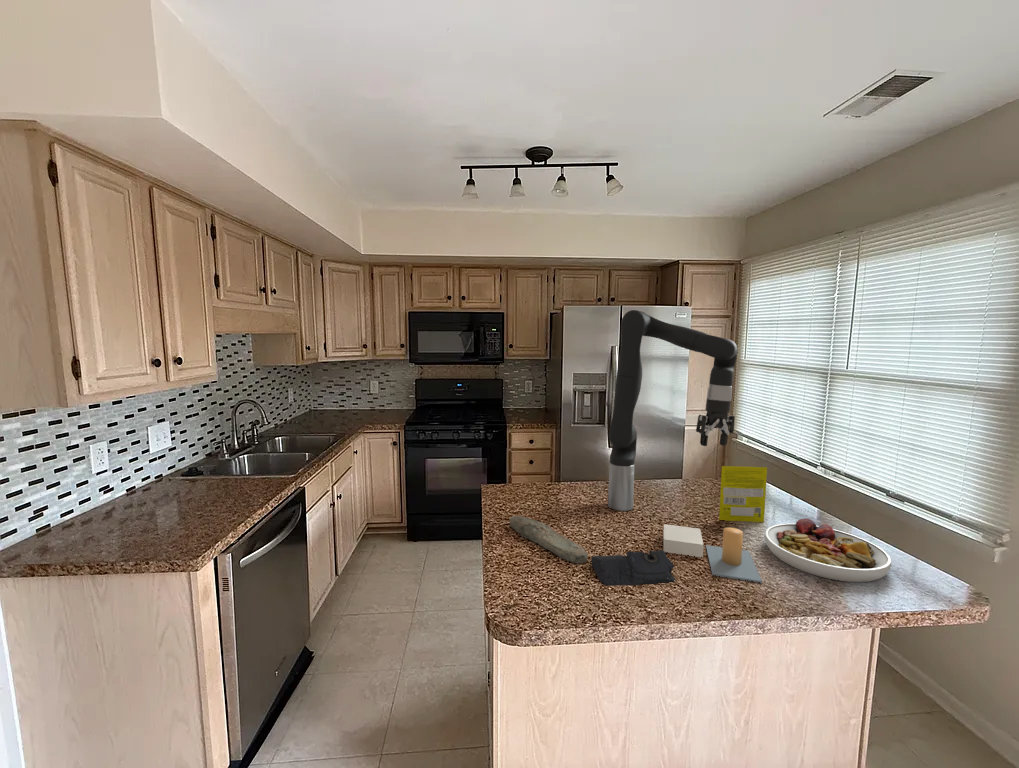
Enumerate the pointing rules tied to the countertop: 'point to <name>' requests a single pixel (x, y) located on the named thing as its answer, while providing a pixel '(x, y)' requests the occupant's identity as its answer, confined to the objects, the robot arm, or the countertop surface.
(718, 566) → the mat
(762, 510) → the food package
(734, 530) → the tan rounded cylinder
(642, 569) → the black flat bumpy piece
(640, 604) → the countertop surface
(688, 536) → the white square block
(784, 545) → the bowl
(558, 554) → the long grey stone
